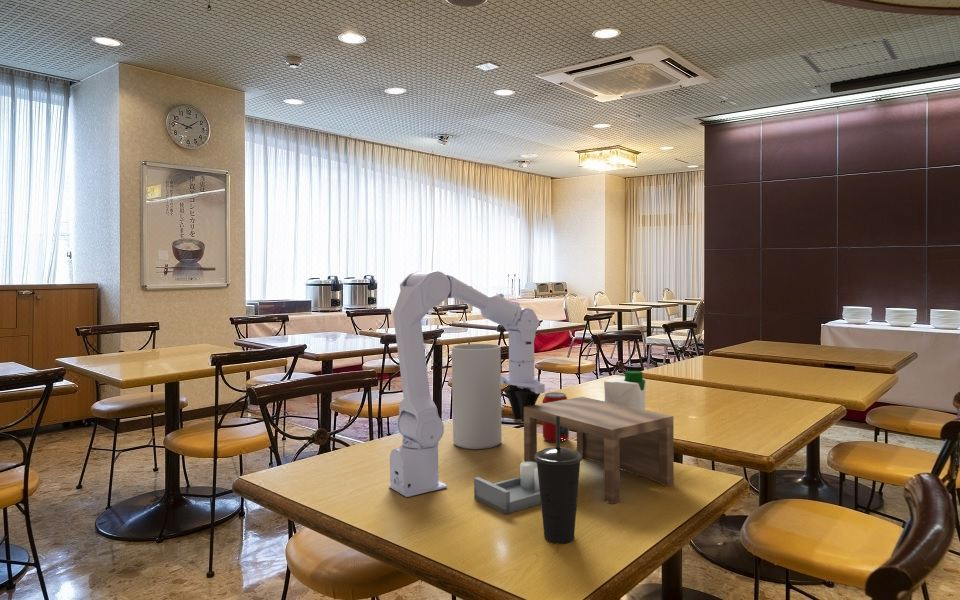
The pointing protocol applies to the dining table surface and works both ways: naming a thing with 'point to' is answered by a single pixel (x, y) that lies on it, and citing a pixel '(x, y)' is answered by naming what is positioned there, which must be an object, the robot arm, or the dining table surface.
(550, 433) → the beverage can
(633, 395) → the milk carton
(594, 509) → the dining table surface
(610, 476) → the wooden side table
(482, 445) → the cylinder vase
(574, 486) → the drinking cup
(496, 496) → the tray
